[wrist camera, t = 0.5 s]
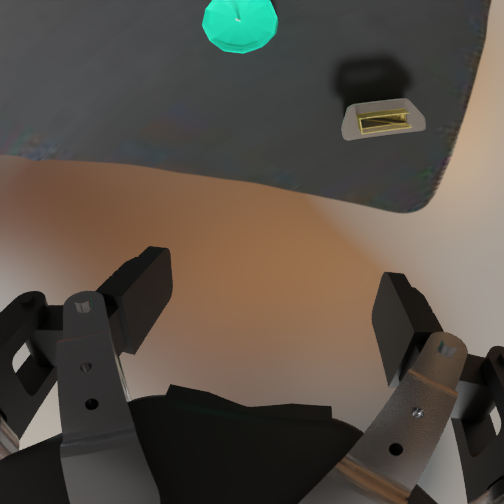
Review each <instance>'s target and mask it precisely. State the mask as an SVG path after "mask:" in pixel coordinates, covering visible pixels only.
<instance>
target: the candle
mask: <svg viewBox="0 0 504 504" xmlns="http://www.w3.org/2000/svg"><path fill="white" fill-rule="evenodd" d="M202 26H203V28H204V30H205V32H206V34H207V36H208V38H209V40H210V41H211V42H212V43H214V44H215V45H216V46H218V47H219V48H220V49H222V50H223V51H227V52H236V53H246V52H249V51H252V50H255V49H258V48H261V47H263V46H264V45H265V44H266V43H267V42H268V41H269V40H270V39H271V38H272V37H273V36H274V35H275V34H276V31H277V26H278V18H277V15H276V13H275V10H274V8H273V6H272V3H271V1H270V0H212V2H211V3H210V4H209V5H208V7H207V8H206V10H205V14H204V19H203V23H202Z"/></svg>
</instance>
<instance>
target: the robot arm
mask: <svg viewBox="0 0 504 504" xmlns="http://www.w3.org/2000/svg"><path fill="white" fill-rule="evenodd" d="M172 288H173V281H172V269H171V256H170V251H169V249H168V248H161V247H153V246H149V247H148V248H147V249H146V250H145V251H144V252H142V253H141V254H140V255H139V256H138V257H135V258H133V259H131V260H129V261H127V262H125V263H124V264H123V265H122V266H121V267H120V268H119V269H118V270H116V271H115V272H114V273H113V274H112V276H110V277H109V278H108V279H107V280H106V281H105V282H104V283H103V284H102V285H101V286H100V287H99V288H98V289H97V290H96V291H83V292H79V293H76V294H74V295H72V296H70V297H69V298H68V299H67V300H66V301H65V303H64V305H48V304H47V301H46V298H45V295H44V294H43V293H42V292H38V291H30V292H26V293H24V294H22V295H20V296H18V297H17V298H15V299H14V300H13V301H12V302H11V303H10V304H9V305H8V306H7V307H6V308H5V309H4V310H3V311H2V312H0V504H437V503H436V502H435V501H434V500H433V499H432V498H431V497H430V496H429V495H428V494H427V493H426V492H425V491H424V490H422V488H421V487H419V486H418V485H417V484H416V483H417V482H418V480H419V478H420V476H421V474H422V472H423V471H424V469H425V467H426V465H427V463H428V462H429V460H430V458H431V456H432V454H433V452H434V450H435V448H436V445H437V444H438V442H439V439H440V437H441V435H442V433H443V431H444V428H445V426H446V424H447V421H448V419H449V417H451V420H452V425H453V428H454V433H455V437H456V441H457V445H458V450H459V455H460V460H461V465H462V470H463V476H464V482H465V488H466V495H467V502H468V504H504V347H502V346H494V347H492V348H491V349H490V350H489V352H488V354H487V356H486V357H485V358H484V357H480V356H475V355H471V354H468V350H467V347H466V345H465V344H464V343H463V341H462V340H461V339H459V338H458V337H456V336H455V335H452V334H450V333H447V332H444V331H443V329H442V327H441V325H440V323H439V322H438V320H437V318H436V316H435V314H434V313H433V312H432V309H431V307H430V306H429V304H428V302H427V300H426V298H425V297H424V295H423V294H421V293H420V292H419V291H418V290H417V289H416V288H413V287H411V285H410V283H409V282H408V280H407V278H406V276H405V275H404V274H401V273H392V272H384V274H383V275H382V278H381V281H380V285H379V289H378V292H377V296H376V299H375V303H374V306H373V310H372V325H373V328H374V332H375V335H376V339H377V343H378V346H379V350H380V354H381V358H382V362H383V366H384V369H385V374H386V377H387V382H388V387H397V389H396V390H395V391H394V393H393V395H392V396H391V397H390V399H389V400H388V402H387V403H386V405H385V406H384V407H383V409H382V410H381V412H380V413H379V414H378V416H377V417H376V418H375V420H374V421H373V422H372V424H371V425H370V426H369V428H368V429H367V430H366V431H365V433H363V432H362V431H361V430H359V429H357V428H356V427H354V426H352V425H350V424H348V423H346V422H343V421H340V420H338V419H334V418H332V408H331V406H318V405H303V404H284V405H283V404H282V405H271V406H259V407H246V406H243V405H240V404H238V403H235V402H232V401H230V400H227V399H224V398H222V397H219V396H217V395H214V394H212V393H209V392H205V391H200V390H195V389H190V388H186V387H181V386H176V385H172V384H170V386H169V389H168V391H167V393H166V395H152V396H146V397H141V398H138V399H134V400H132V399H131V396H130V393H129V389H128V386H127V383H126V379H125V376H124V372H123V369H122V365H121V361H120V358H119V356H120V354H121V353H122V352H126V353H129V354H134V355H135V353H136V352H137V350H138V349H139V347H140V345H141V344H142V342H143V341H144V339H145V337H146V336H147V334H148V333H149V331H150V330H151V328H152V326H153V325H154V323H155V322H156V320H157V319H158V317H159V315H160V314H161V312H162V311H163V309H164V308H165V306H166V305H167V303H168V302H169V300H170V298H171V295H172ZM24 343H26V345H27V347H28V349H29V352H30V356H29V357H28V358H27V359H26V361H25V362H24V363H23V365H22V366H21V367H20V368H19V369H18V371H17V372H16V373H15V371H14V369H13V366H12V361H13V357H14V355H15V354H16V352H17V351H18V350H19V349H20V348H21V347H22V345H23V344H24ZM56 381H58V397H59V409H60V418H61V427H62V433H60V434H58V435H56V436H54V437H51V438H49V439H47V440H44V441H42V442H40V443H37V444H35V445H32V446H30V447H27V448H25V449H22V450H20V451H19V440H20V438H21V437H22V435H23V433H24V432H25V430H26V428H27V427H28V425H29V424H30V422H31V420H32V419H33V417H34V415H35V414H36V412H37V410H38V409H39V407H40V406H41V404H42V403H43V401H44V400H45V398H46V396H47V395H48V393H49V392H50V390H51V389H52V387H53V386H54V384H55V383H56ZM495 406H496V407H497V410H498V413H499V415H500V418H501V429H500V432H499V434H498V435H496V432H495V429H494V426H493V423H492V420H491V417H490V413H491V411H492V410H493V409H494V408H495Z"/></svg>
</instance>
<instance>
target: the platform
mask: <svg viewBox="0 0 504 504" xmlns="http://www.w3.org/2000/svg"><path fill="white" fill-rule="evenodd" d="M357 115H358V116H357ZM425 128H426V123H425V117H424V116H423V115H422V114H421V113H420V112H419V110H418V109H417V108H416V107H415V106H414V105H413V104H412V103H411V102H410V101H409V100H408V99H406V98H401V99H391V100H382V101H373V102H366V103H358V104H352V105H350V106H349V107H347V110H346V113H345V117H344V120H343V123H342V127H341V129H342V135H343V137H344V139H345V140H354V139H361V138H367V137H374V136H382V135H389V134H397V133H406V132H415V131H423V130H425Z"/></svg>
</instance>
